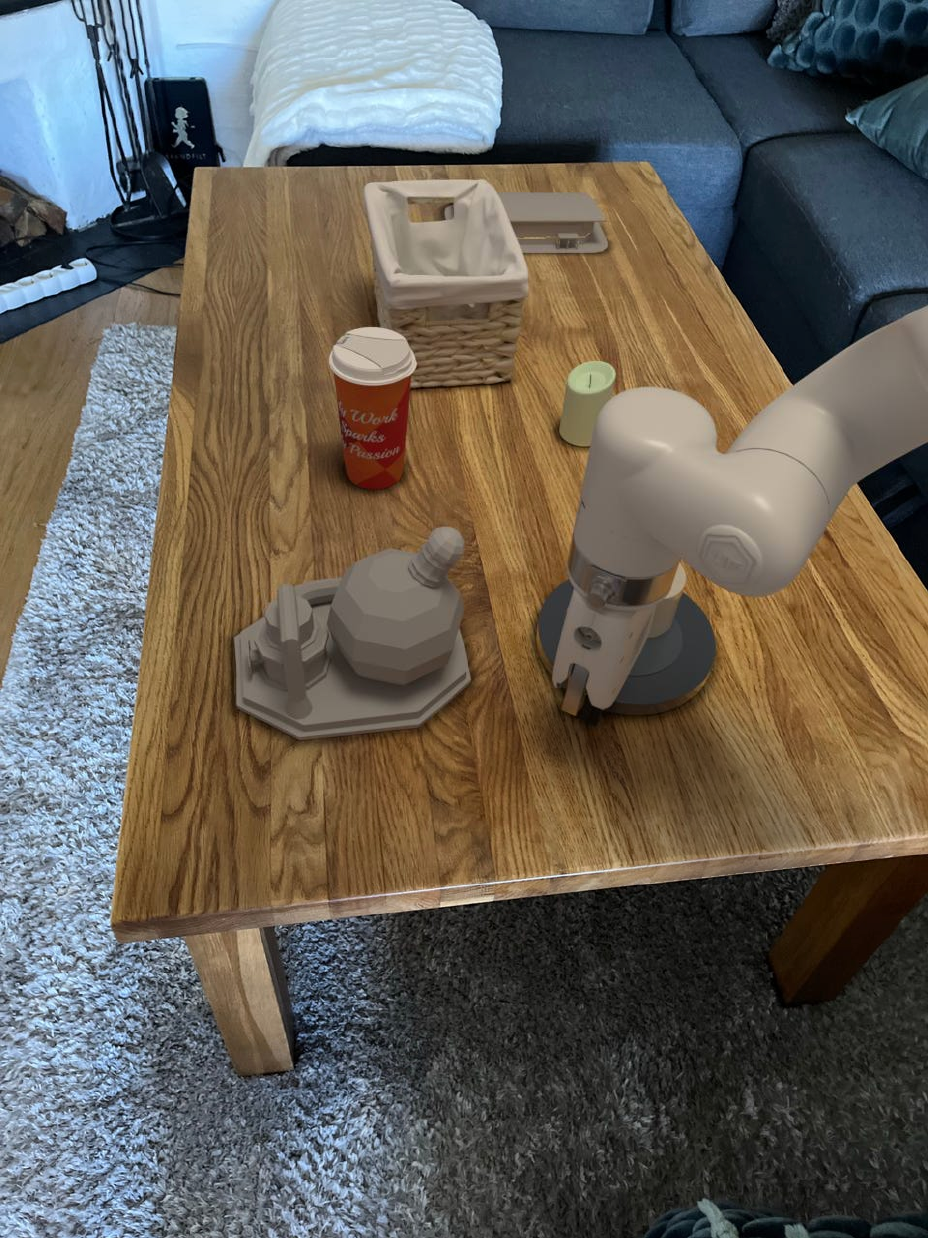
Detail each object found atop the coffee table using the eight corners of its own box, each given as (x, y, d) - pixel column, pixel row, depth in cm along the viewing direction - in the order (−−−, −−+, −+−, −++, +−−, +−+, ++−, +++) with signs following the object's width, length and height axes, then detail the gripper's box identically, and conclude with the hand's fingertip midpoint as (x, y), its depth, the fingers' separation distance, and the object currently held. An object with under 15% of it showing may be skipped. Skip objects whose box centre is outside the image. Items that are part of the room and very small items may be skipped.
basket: (521, 391, 110) (535, 273, 99) (384, 399, 108) (383, 279, 97) (484, 286, 126) (492, 175, 115) (363, 291, 123) (360, 178, 112)
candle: (572, 451, 103) (584, 388, 97) (551, 425, 106) (560, 362, 100) (611, 441, 105) (624, 378, 99) (588, 416, 108) (600, 353, 102)
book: (612, 252, 134) (617, 225, 131) (453, 253, 131) (454, 226, 128) (590, 203, 144) (594, 177, 141) (442, 203, 141) (443, 177, 138)
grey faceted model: (449, 587, 89) (457, 459, 77) (481, 719, 79) (496, 595, 67) (233, 609, 85) (208, 478, 74) (238, 749, 75) (210, 623, 64)
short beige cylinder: (683, 603, 86) (696, 564, 83) (658, 649, 83) (671, 609, 79) (619, 577, 88) (629, 537, 84) (592, 620, 84) (601, 580, 81)
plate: (734, 621, 88) (739, 609, 86) (675, 744, 78) (680, 733, 77) (579, 558, 92) (581, 545, 91) (505, 666, 83) (507, 654, 81)
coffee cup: (321, 483, 97) (312, 358, 86) (357, 439, 103) (352, 315, 91) (395, 506, 96) (394, 381, 84) (427, 460, 101) (431, 336, 90)
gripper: (635, 650, 60) (589, 799, 73) (707, 515, 69) (654, 670, 82) (528, 606, 62) (503, 758, 75) (612, 480, 71) (576, 636, 84)
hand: (582, 712), depth 79 cm, fingers closed
